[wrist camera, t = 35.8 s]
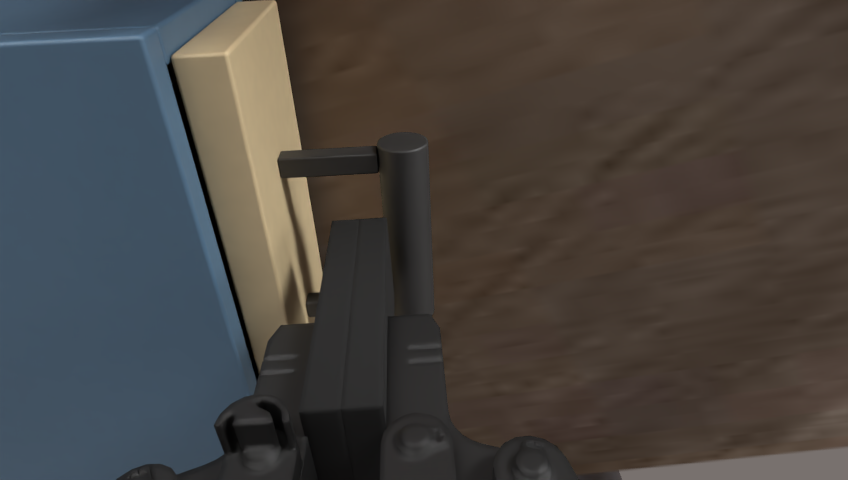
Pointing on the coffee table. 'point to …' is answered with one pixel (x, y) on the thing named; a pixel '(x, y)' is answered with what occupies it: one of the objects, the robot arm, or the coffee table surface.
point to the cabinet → (107, 248)
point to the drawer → (285, 177)
